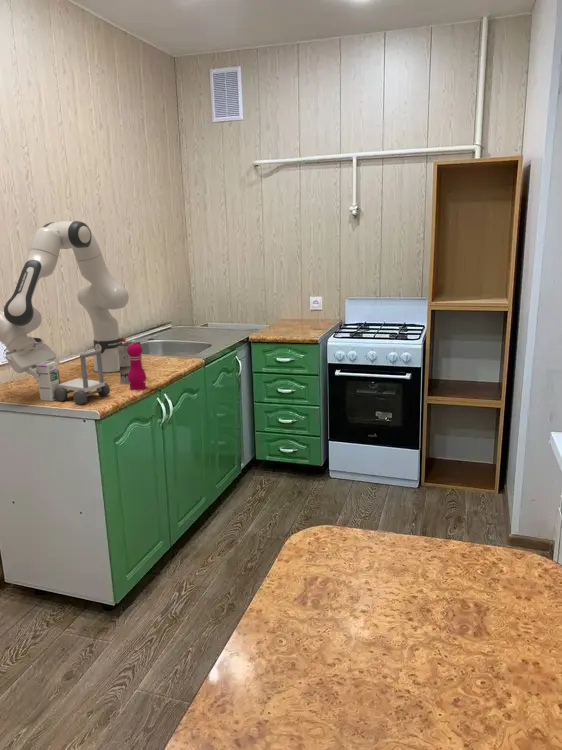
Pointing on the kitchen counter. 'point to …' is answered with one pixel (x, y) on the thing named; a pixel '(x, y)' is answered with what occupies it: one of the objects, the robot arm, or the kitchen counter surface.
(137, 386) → the pepper mill
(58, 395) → the hand trolley
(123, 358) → the coffee box
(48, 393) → the syrup box
